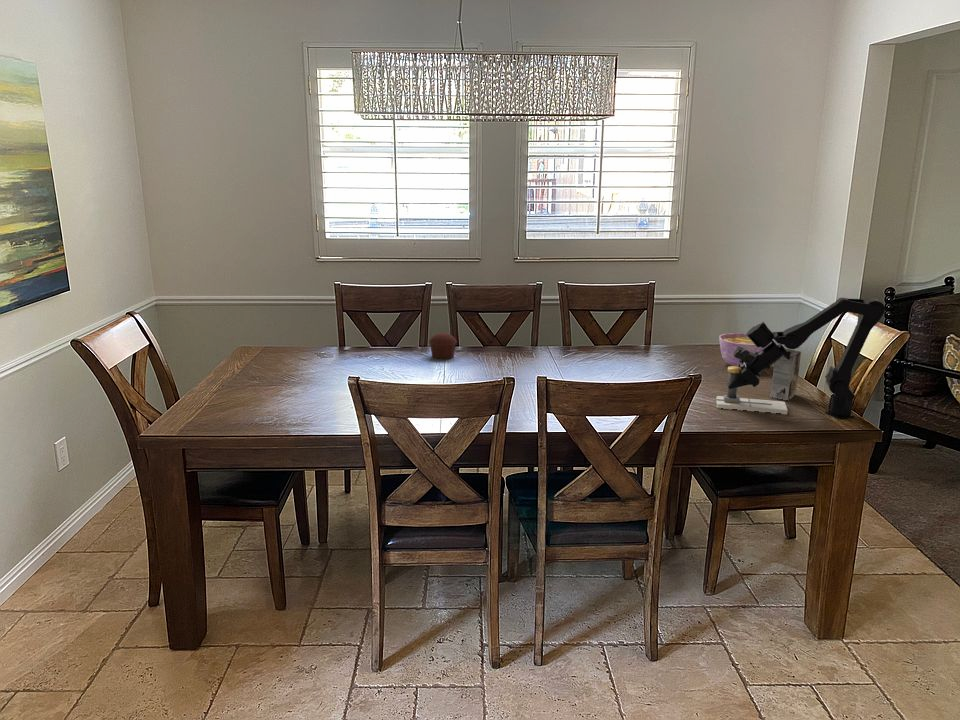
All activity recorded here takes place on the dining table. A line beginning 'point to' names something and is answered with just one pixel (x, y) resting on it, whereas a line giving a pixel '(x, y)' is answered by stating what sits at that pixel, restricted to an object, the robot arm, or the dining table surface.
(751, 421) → the dining table surface
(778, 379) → the coffee box
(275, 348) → the dining table surface
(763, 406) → the fader console
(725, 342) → the bowl of food
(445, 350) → the muffin
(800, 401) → the dining table surface
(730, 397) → the lever
